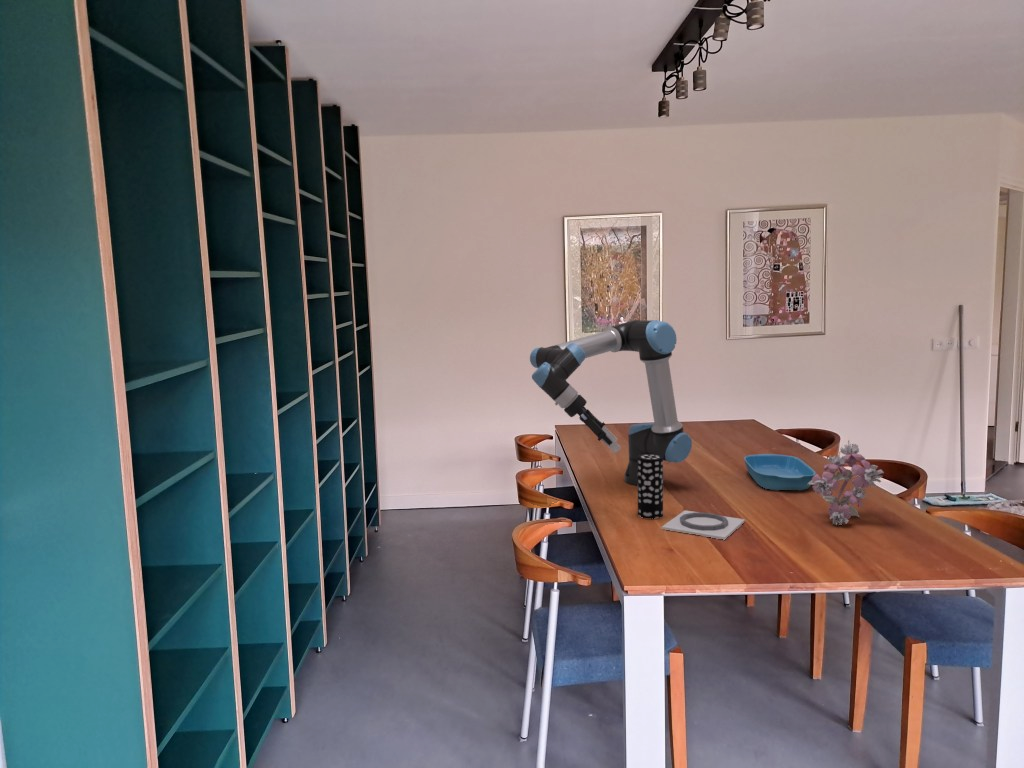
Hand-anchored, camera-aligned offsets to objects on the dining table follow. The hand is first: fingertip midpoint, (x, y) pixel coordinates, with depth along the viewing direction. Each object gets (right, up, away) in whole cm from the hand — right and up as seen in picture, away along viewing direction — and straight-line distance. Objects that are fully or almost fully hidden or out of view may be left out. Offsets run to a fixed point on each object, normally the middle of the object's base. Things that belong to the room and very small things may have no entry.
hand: (616, 446), depth 240 cm
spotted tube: (+12, -23, +2) cm, 26 cm away
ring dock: (+26, -24, -10) cm, 37 cm away
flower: (+71, -23, -8) cm, 75 cm away
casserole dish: (+69, -18, +42) cm, 82 cm away
